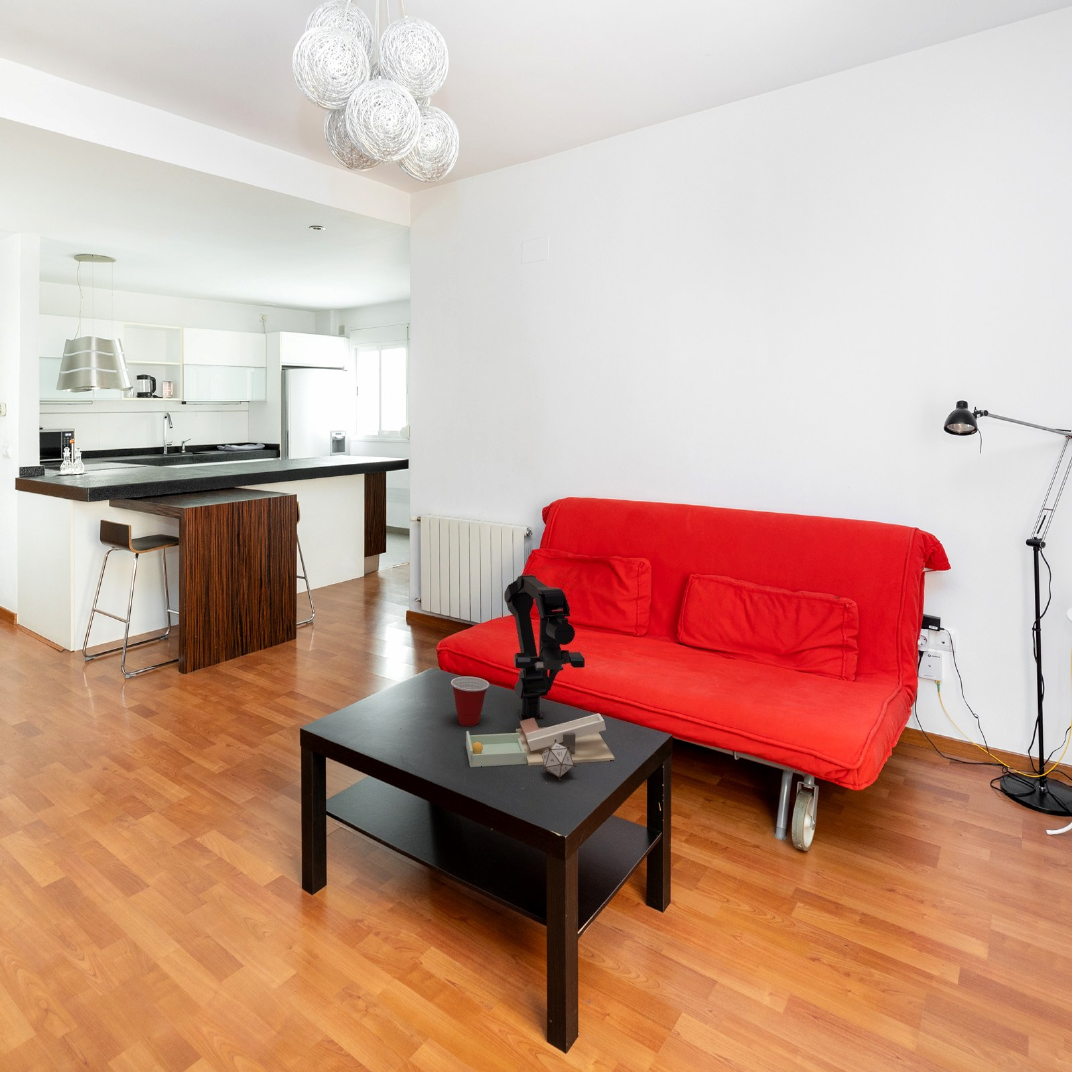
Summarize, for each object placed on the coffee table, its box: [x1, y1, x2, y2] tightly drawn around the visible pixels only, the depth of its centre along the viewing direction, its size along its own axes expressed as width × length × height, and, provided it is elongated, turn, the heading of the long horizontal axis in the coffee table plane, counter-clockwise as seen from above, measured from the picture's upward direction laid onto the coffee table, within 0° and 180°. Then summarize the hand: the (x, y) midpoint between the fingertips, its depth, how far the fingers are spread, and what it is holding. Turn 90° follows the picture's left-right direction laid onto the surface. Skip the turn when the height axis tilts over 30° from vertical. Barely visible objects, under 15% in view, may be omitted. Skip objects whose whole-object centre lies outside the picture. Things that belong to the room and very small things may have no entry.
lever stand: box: [515, 722, 615, 766], centre depth 191 cm, size 21×22×6 cm
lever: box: [519, 713, 607, 751], centre depth 193 cm, size 17×20×3 cm
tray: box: [465, 730, 528, 768], centre depth 185 cm, size 12×14×4 cm
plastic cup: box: [450, 676, 490, 727], centre depth 205 cm, size 11×11×12 cm
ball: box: [472, 742, 483, 754], centre depth 184 cm, size 3×3×3 cm
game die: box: [539, 739, 578, 782], centre depth 174 cm, size 9×8×10 cm
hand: (548, 690), depth 198 cm, fingers closed
